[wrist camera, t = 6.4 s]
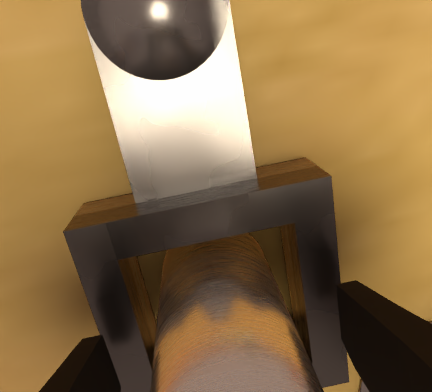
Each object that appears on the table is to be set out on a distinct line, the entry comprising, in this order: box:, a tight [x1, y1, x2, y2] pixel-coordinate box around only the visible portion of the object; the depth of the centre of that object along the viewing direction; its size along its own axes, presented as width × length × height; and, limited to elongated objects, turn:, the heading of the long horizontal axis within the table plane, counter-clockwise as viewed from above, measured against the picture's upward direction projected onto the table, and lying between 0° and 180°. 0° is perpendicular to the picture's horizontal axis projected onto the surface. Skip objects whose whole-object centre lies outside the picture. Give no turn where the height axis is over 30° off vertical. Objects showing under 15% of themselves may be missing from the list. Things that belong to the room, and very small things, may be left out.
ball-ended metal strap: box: [63, 0, 349, 392], centre depth 13 cm, size 23×8×2 cm, turn 11°
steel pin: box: [150, 233, 324, 392], centre depth 10 cm, size 4×4×9 cm
